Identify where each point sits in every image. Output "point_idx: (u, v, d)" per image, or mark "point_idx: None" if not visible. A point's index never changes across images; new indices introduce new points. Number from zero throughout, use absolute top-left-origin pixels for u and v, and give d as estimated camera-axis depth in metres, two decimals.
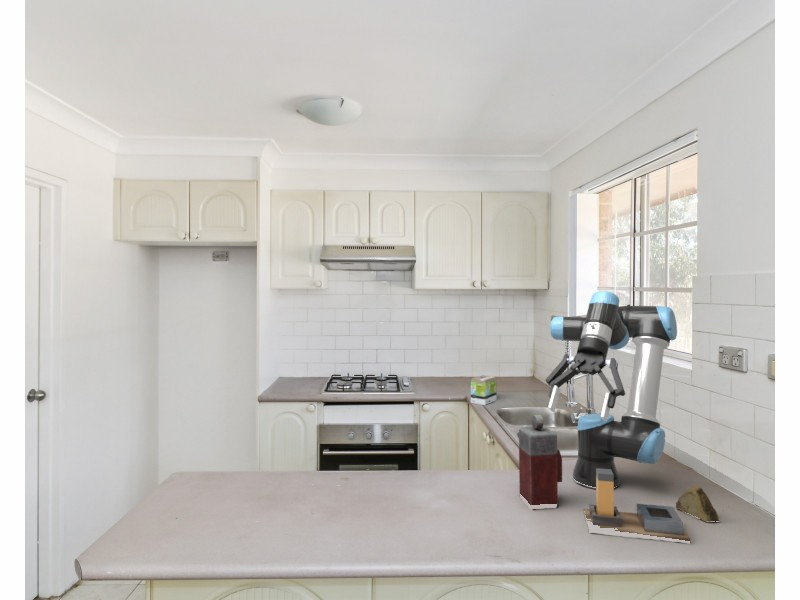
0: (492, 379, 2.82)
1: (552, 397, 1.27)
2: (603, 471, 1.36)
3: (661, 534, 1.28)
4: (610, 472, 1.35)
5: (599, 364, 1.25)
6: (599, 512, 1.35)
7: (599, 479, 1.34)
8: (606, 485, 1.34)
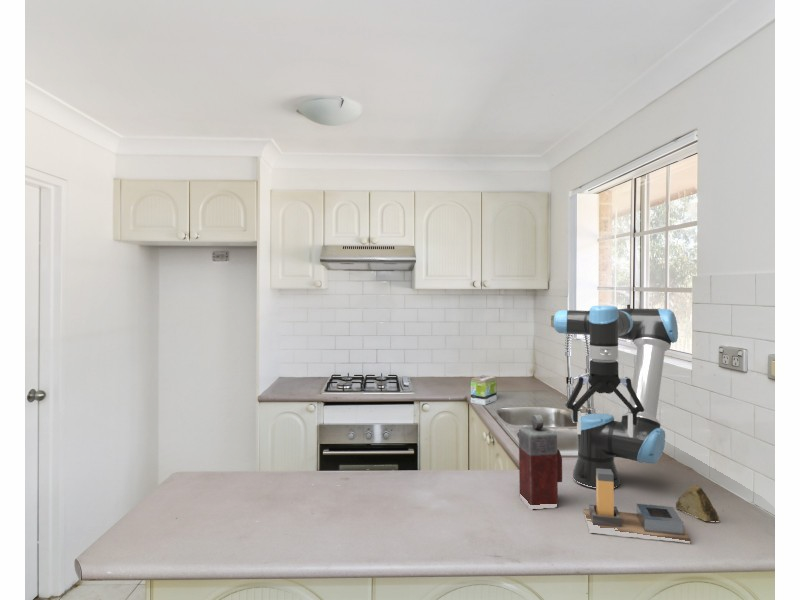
0: (492, 379, 2.82)
1: (579, 423, 1.36)
2: (603, 471, 1.36)
3: (661, 534, 1.28)
4: (610, 472, 1.35)
5: (616, 385, 1.33)
6: (599, 512, 1.35)
7: (599, 479, 1.34)
8: (606, 485, 1.34)
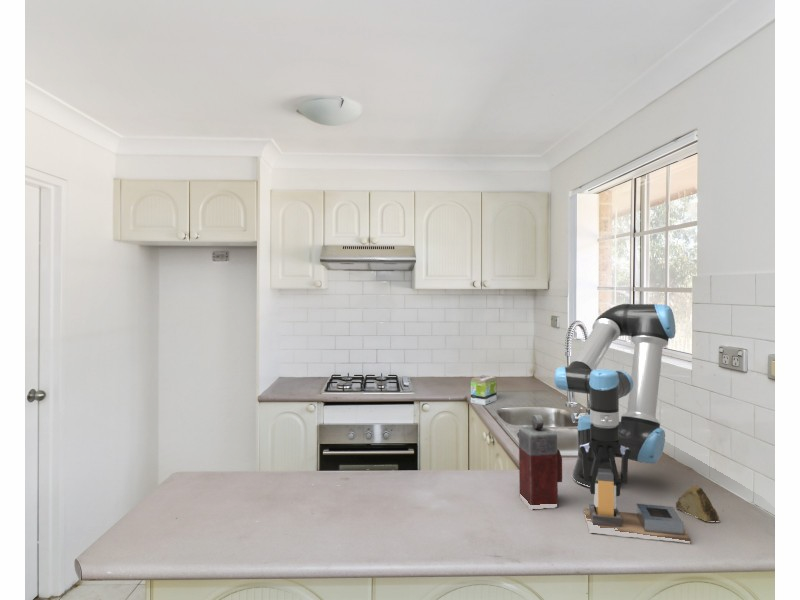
0: (492, 379, 2.82)
1: (596, 496, 1.35)
2: (603, 471, 1.36)
3: (661, 534, 1.28)
4: (610, 472, 1.35)
5: (614, 450, 1.34)
6: (599, 512, 1.35)
7: (599, 479, 1.34)
8: (607, 485, 1.34)
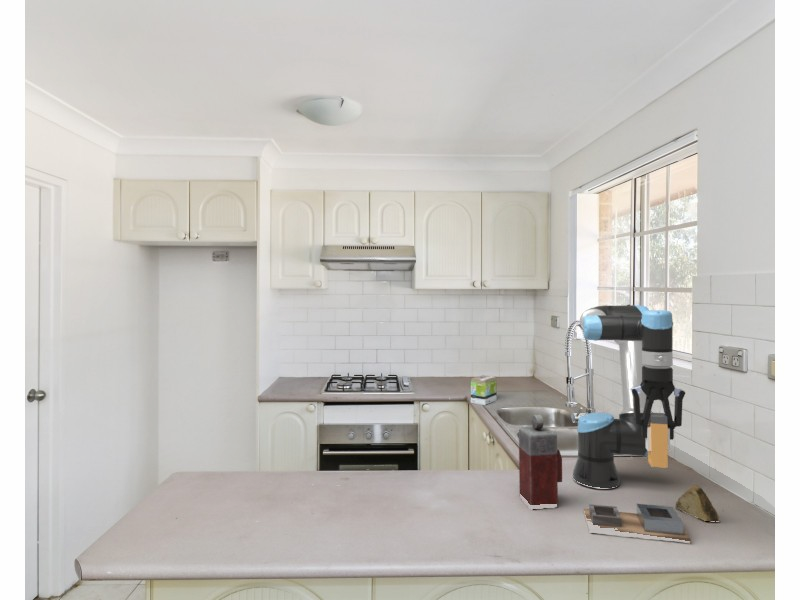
0: (492, 379, 2.82)
1: (649, 440, 1.31)
2: (656, 414, 1.32)
3: (661, 534, 1.28)
4: (663, 415, 1.31)
5: (668, 392, 1.30)
6: (652, 456, 1.31)
7: (652, 422, 1.30)
8: (660, 428, 1.30)
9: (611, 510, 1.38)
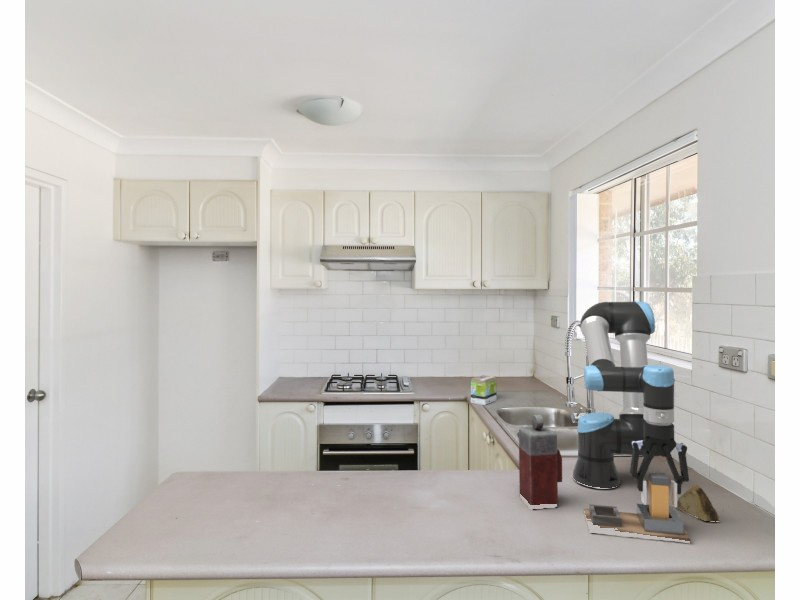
0: (492, 379, 2.82)
1: (645, 493, 1.32)
2: (657, 475, 1.32)
3: (661, 534, 1.28)
4: (664, 476, 1.31)
5: (670, 448, 1.30)
6: None
7: (653, 483, 1.31)
8: (661, 489, 1.30)
9: (611, 510, 1.38)
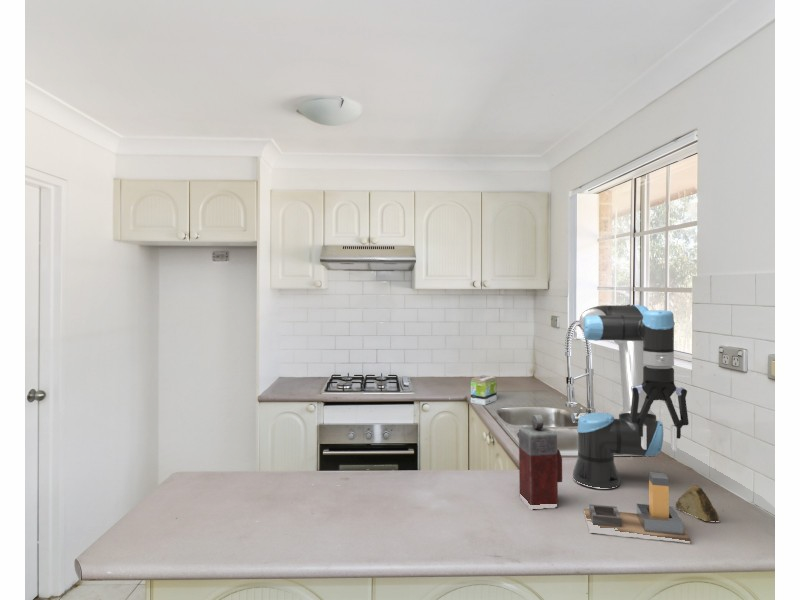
0: (492, 379, 2.82)
1: (645, 438, 1.32)
2: (657, 475, 1.32)
3: (661, 534, 1.28)
4: (665, 476, 1.31)
5: (670, 392, 1.30)
6: None
7: (653, 483, 1.31)
8: (661, 490, 1.30)
9: (611, 510, 1.38)
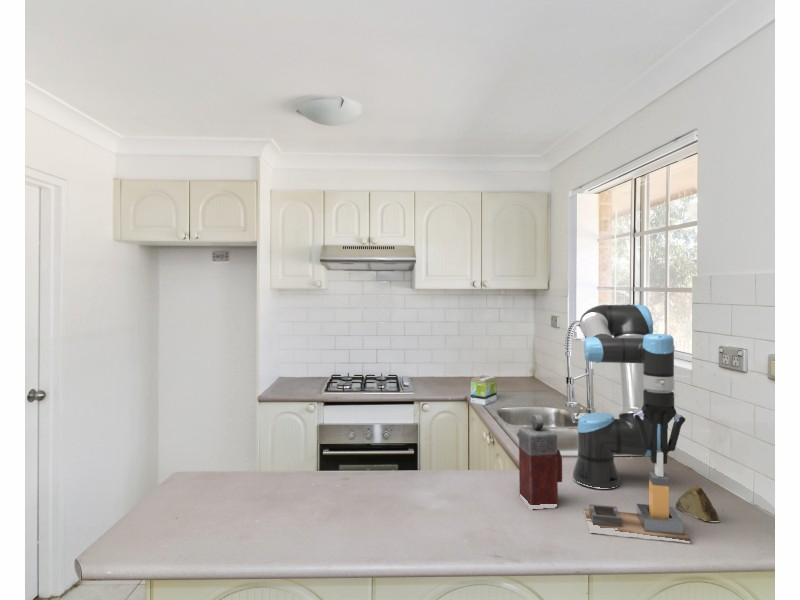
0: (492, 379, 2.82)
1: (659, 465, 1.31)
2: None
3: (661, 534, 1.28)
4: (665, 476, 1.31)
5: (668, 415, 1.30)
6: None
7: (654, 484, 1.31)
8: (661, 490, 1.30)
9: (611, 510, 1.38)
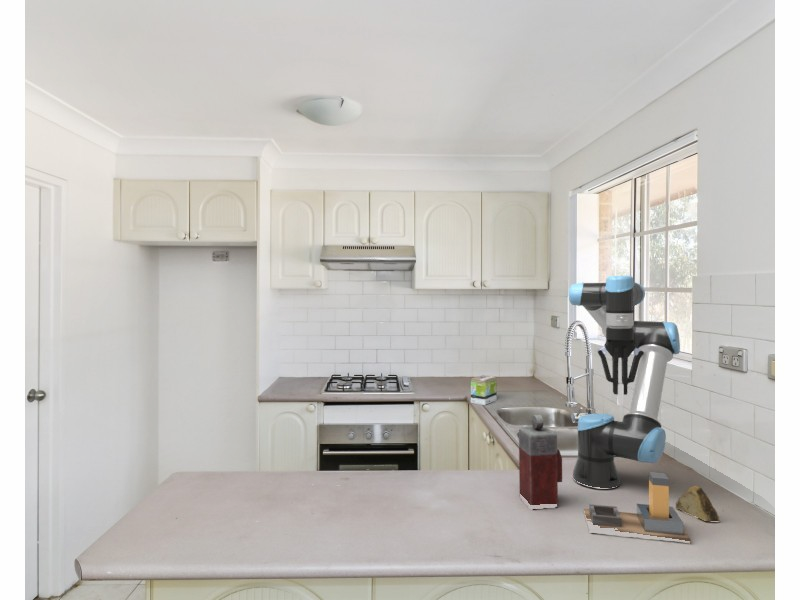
0: (492, 379, 2.82)
1: (619, 396, 1.42)
2: (657, 475, 1.32)
3: (661, 534, 1.28)
4: (665, 476, 1.31)
5: (628, 350, 1.42)
6: None
7: (653, 483, 1.31)
8: (661, 490, 1.30)
9: (611, 510, 1.38)
